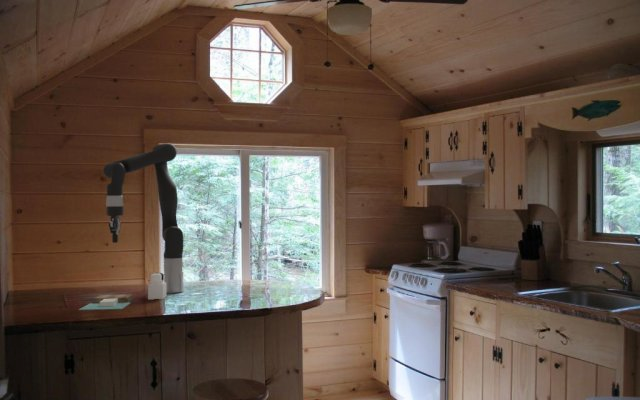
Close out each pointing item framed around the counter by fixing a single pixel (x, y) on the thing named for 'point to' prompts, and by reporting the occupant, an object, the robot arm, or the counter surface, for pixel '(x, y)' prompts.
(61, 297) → the counter surface
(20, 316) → the counter surface
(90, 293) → the counter surface
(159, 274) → the medicine bottle
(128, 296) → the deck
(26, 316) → the counter surface
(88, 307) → the mat
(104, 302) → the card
